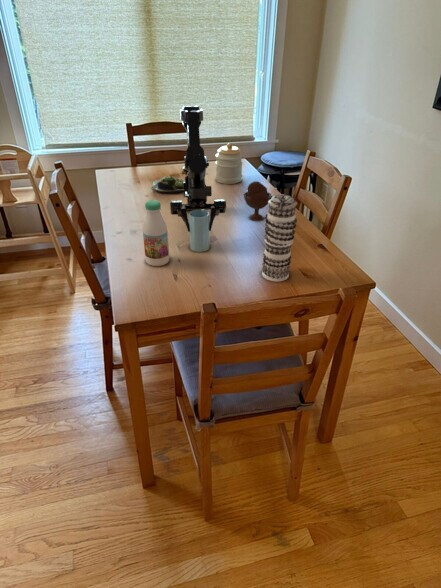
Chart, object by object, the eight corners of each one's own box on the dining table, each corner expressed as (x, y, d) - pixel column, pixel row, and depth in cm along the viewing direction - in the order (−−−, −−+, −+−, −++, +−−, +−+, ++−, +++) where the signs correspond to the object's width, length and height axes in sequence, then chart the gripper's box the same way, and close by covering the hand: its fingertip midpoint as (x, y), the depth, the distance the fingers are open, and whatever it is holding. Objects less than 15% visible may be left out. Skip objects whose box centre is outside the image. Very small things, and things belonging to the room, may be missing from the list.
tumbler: (186, 245, 142) (185, 212, 135) (203, 241, 145) (202, 208, 138) (196, 253, 137) (195, 219, 130) (213, 248, 140) (213, 215, 133)
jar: (217, 175, 206) (217, 139, 196) (242, 176, 205) (244, 140, 195) (213, 183, 196) (213, 145, 186) (240, 185, 194) (242, 147, 184)
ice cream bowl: (268, 224, 157) (271, 186, 149) (240, 222, 159) (241, 184, 151) (271, 214, 166) (274, 177, 158) (244, 211, 168) (246, 175, 159)
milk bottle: (146, 255, 136) (140, 198, 125) (169, 254, 136) (166, 197, 125) (145, 267, 129) (138, 207, 118) (169, 266, 130) (165, 207, 119)
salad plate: (148, 181, 197) (147, 171, 194) (185, 179, 200) (184, 169, 198) (151, 195, 181) (151, 185, 179) (191, 193, 185) (191, 183, 182)
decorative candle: (269, 284, 122) (277, 205, 108) (255, 270, 129) (260, 194, 115) (295, 278, 125) (306, 201, 111) (280, 264, 132) (288, 190, 118)
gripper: (168, 177, 130) (170, 223, 127) (226, 176, 132) (229, 221, 129) (169, 192, 141) (171, 235, 138) (223, 191, 143) (226, 233, 140)
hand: (199, 231), depth 136 cm, fingers closed on tumbler, 7 cm apart
